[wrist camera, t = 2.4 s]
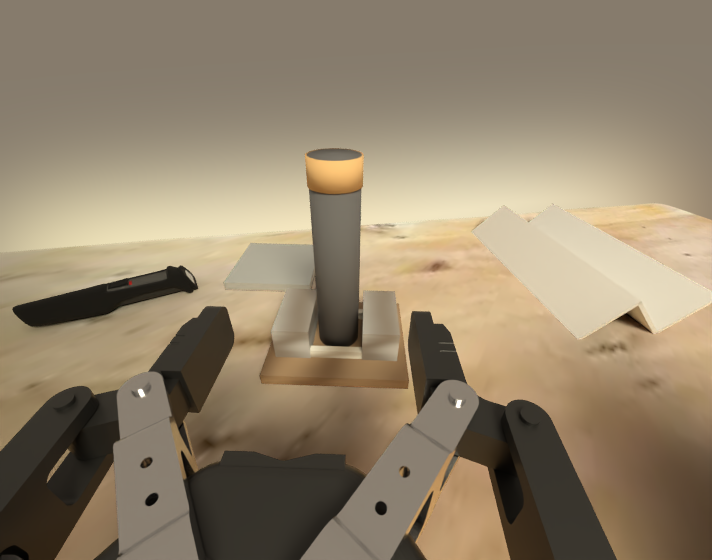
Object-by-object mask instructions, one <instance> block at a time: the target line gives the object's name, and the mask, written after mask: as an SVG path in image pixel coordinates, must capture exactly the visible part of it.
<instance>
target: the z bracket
mask: <svg viewBox="0 0 712 560" xmlns="http://www.w3.org/2000/svg"><path fill="white" fill-rule="evenodd" d="M471 232H472V233H473V234H474V235H475V236H476V237H477V238H478V239H479V240H480V241H481V242H482V243H483V244H484V245H485V246H486V247H487V248H488V249H489V251H490V252H491V253H492V254H493V255H494V256H495V257H496V258H497V259H498V260H499V261H500V262H501V263H502V264H503V265H504V266H505V267H506V268H507V269H508V270H509V271H510V272H511V273H512V274H513V275H514V276H515V277H516V278H517V279H518V280H519V281H520V282H521V283H522V284H523V285H524V286H525V287H526V288H527V289H528V290H529V291H530V292H531V293H532V294H533V295H534V296H535V297H536V298H537V299H538V300H539V301H540V302H541V303H542V304H543V305H544V306H545V307H546V308H547V309H548V310H549V311H550V312H551V313H552V314H553V315H554V316H555V317H556V318H557V319H558V320H559V321H560V322H561V323H562V324H563V325H564V326H565V327H566V328H567V329H568V330H569V331H570V332H571V333H572V334H573V335H574V336H575V337H576V338H577V339H583V338H585V337H587V336H588V335H590V334H592V333H593V332H595V331H597V330H598V329H600V328H602V327H603V326H605V325H607V324H608V323H610V322H612V321H613V320H615V319H617V318H618V317H620V316H622V315H623V314H625V313H627V314H628V315H630V316H631V317H632V318H634V319H635V320H636V321H638V322H639V323H640V324H641V325H643V326H644V327H645V328H647V329H648V330H649V331H651V332H652V333H653V334H655V333H659V332H661V331H663V330H665V329H667V328H668V327H670V326H672V325H674V324H675V323H677V322H679V321H681V320H683V319H684V318H686V317H688V316H690V315H692V314H693V313H695V312H697V311H699V310H700V309H702V308H704V307H706V306H708V305H709V304H711V303H712V291H711V290H709V289H707V288H705V287H703V286H702V285H700V284H698V283H696V282H694V281H692V280H691V279H689V278H687V277H685V276H683V275H682V274H680V273H678V272H676V271H674V270H672V269H671V268H669V267H667V266H665V265H663V264H661V263H660V262H658V261H656V260H654V259H652V258H651V257H649V256H647V255H645V254H643V253H641V252H640V251H638V250H636V249H634V248H632V247H631V246H629V245H627V244H625V243H623V242H621V241H620V240H618V239H616V238H614V237H612V236H611V235H609V234H607V233H605V232H603V231H601V230H600V229H598V228H596V227H594V226H592V225H591V224H589V223H587V222H585V221H583V220H581V219H580V218H578V217H576V216H574V215H572V214H570V213H569V212H567V211H565V210H563V209H561V208H559V207H558V206H556V205H554V204H552V205H550V206H549V207H548V208H546V209H545V210H544V211H543V212H541V213H540V214H539V215H537V216H536V217H535V218H533V219H532V220H531V221H530V222H527V221H526V220H525V219H523V218H522V217H520V216H519V215H517V214H516V213H514V212H513V211H511V210H510V209H509V208H507V207H506V206H504V205H503V206H502V207H501V208H499V209H498V210H497V211H496V212H495V213H493V214H492V215H491V216H490V217H488V218H487V219H486V220H485V221H483V222H482V223H481V224H480V225H479V226H477V227H476V228H475V229H474V230H472V231H471Z"/></svg>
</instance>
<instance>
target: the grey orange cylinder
mask: <svg viewBox="0 0 712 560" xmlns="http://www.w3.org/2000/svg"><path fill="white" fill-rule="evenodd" d="M363 156H364V155H363V153H362V152H359V151H356V150H351V149H339V148H330V149H318V150H313V151H309V152H308V153H306V154H305V161H306V174H307V186H308V188H309V194H310V208H311V223H312V237H313V251H314V265H315V279H316V293H317V307H318V322H319V336H320V340H321V342H322V343H323V344H324V345H326V346H341V347H349V346H351V345H352V344H354V343H355V341H356V340H357V338H358V314H359V269H360V221H361V188H362V187H363Z"/></svg>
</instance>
